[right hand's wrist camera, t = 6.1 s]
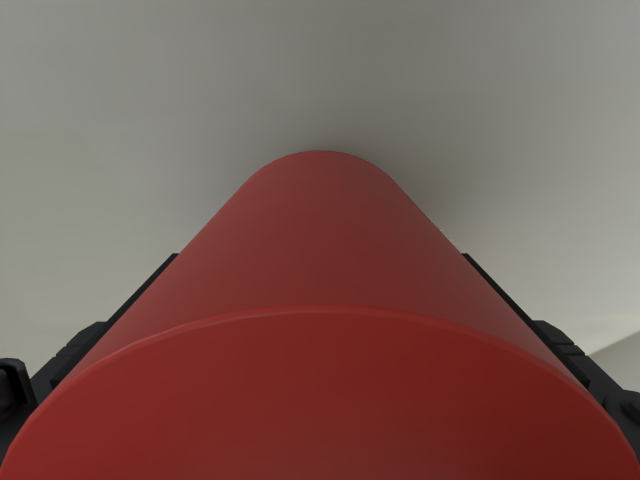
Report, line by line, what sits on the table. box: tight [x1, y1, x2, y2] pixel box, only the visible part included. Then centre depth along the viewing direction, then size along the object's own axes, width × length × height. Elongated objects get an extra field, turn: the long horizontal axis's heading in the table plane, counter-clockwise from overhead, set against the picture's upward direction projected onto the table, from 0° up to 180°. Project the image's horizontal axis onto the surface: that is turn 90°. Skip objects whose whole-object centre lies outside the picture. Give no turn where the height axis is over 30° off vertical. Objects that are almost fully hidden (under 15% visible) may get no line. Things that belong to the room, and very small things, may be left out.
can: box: [0, 151, 640, 480], centre depth 11 cm, size 9×9×13 cm
